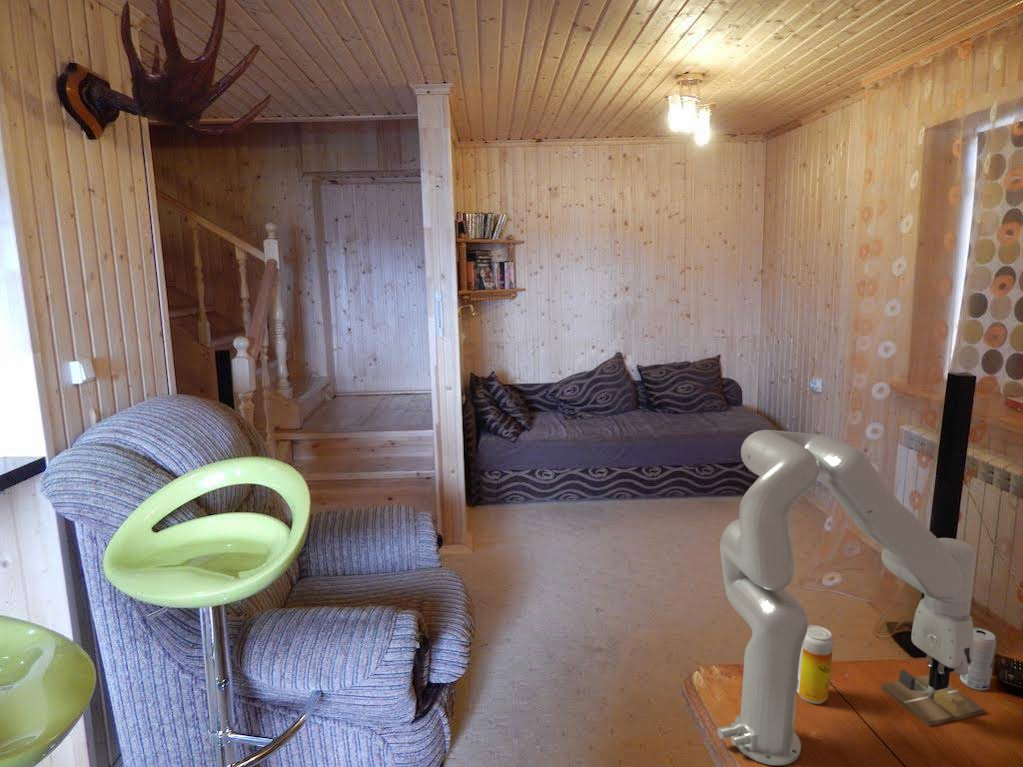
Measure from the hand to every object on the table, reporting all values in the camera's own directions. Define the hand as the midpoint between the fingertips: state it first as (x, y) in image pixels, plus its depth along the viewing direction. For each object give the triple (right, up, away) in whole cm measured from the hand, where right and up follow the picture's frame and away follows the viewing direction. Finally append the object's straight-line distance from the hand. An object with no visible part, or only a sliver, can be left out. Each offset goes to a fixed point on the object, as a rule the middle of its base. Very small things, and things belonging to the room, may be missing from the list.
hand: (938, 686), depth 131 cm
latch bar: (+4, -6, +4) cm, 8 cm away
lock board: (+3, -6, +8) cm, 10 cm away
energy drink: (+16, -5, +13) cm, 22 cm away
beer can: (-21, -6, +9) cm, 24 cm away
